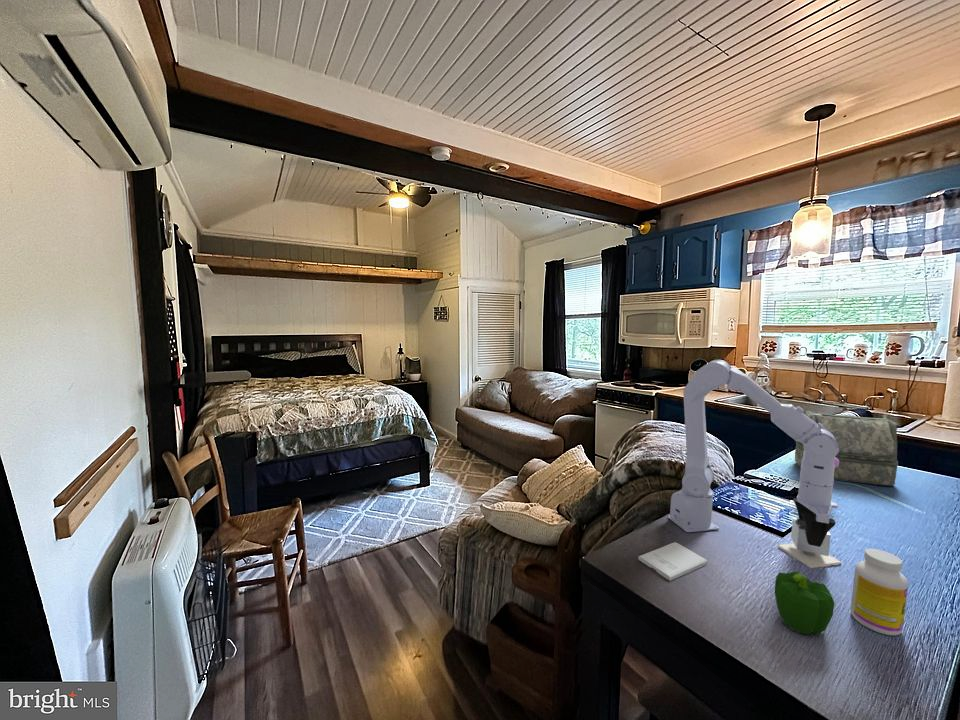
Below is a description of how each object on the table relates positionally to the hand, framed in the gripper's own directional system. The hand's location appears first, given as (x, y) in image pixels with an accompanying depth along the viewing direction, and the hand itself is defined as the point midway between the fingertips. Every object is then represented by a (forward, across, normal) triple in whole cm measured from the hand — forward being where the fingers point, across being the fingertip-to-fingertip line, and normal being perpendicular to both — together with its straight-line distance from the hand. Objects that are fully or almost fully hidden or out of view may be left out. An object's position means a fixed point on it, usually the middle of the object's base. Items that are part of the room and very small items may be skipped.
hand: (810, 538), depth 90 cm
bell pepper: (+4, -27, +7) cm, 28 cm away
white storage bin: (+2, 0, 0) cm, 2 cm away
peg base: (+4, 0, 0) cm, 4 cm away
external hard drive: (+5, -18, +28) cm, 33 cm away
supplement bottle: (+4, -20, -5) cm, 21 cm away
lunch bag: (+5, +67, -23) cm, 71 cm away
